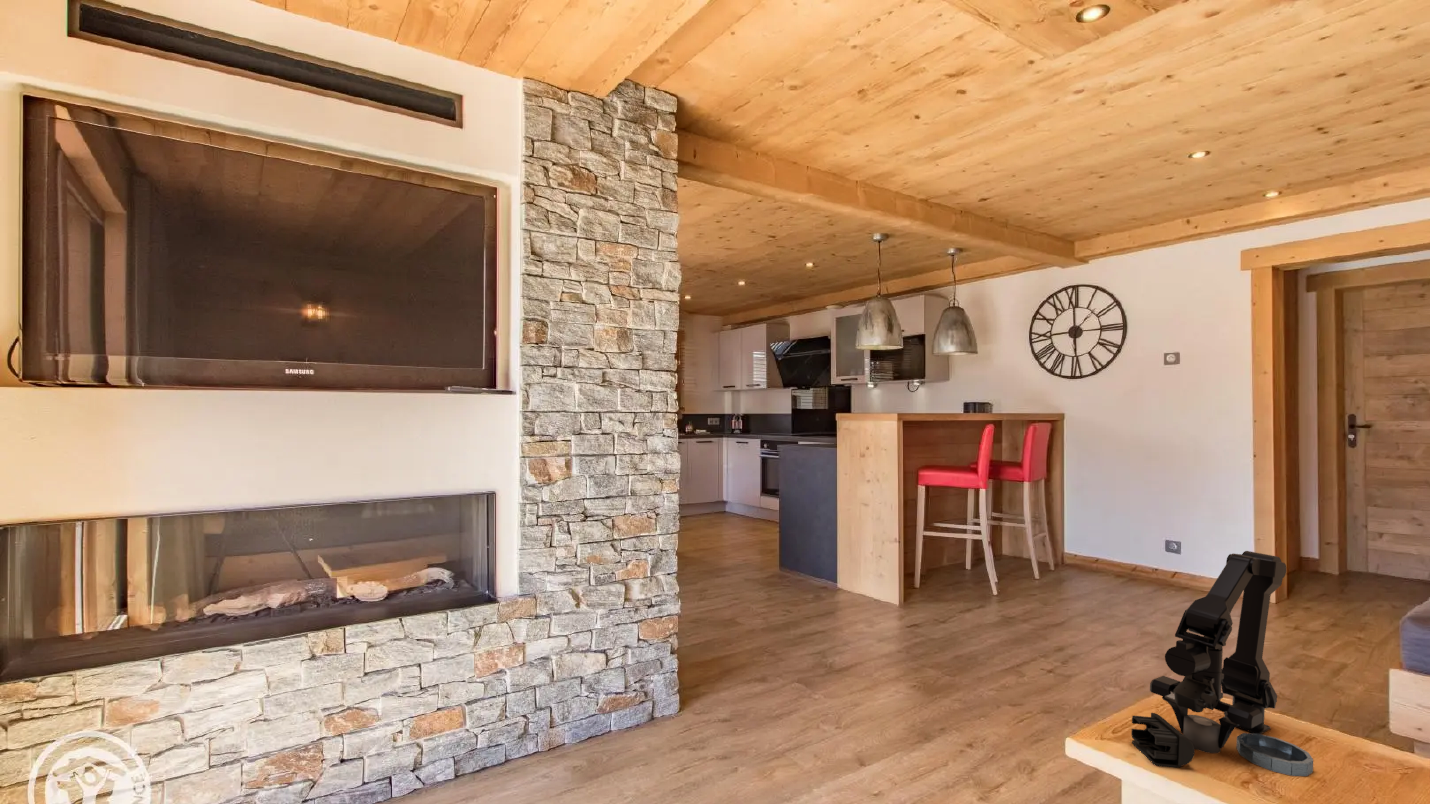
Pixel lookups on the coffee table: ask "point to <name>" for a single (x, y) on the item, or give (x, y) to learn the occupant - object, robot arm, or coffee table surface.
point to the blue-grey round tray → (1274, 754)
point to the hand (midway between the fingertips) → (1201, 740)
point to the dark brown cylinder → (1202, 733)
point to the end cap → (1162, 742)
